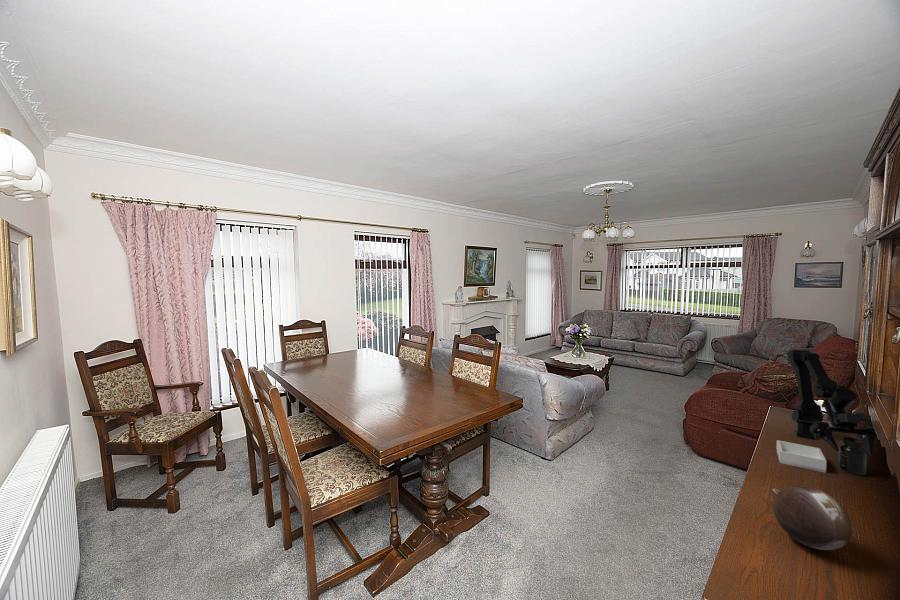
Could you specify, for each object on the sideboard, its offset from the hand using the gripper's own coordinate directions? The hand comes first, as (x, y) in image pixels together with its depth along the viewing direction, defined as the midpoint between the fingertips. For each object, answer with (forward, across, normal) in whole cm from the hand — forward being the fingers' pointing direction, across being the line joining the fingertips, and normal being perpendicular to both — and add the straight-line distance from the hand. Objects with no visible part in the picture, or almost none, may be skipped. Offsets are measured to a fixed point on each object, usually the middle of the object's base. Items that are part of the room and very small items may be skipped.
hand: (854, 452), depth 132 cm
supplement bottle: (+5, 0, +6) cm, 8 cm away
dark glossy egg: (+42, -34, -31) cm, 63 cm away
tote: (+3, -14, +8) cm, 16 cm away
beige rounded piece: (+29, -32, -18) cm, 47 cm away
